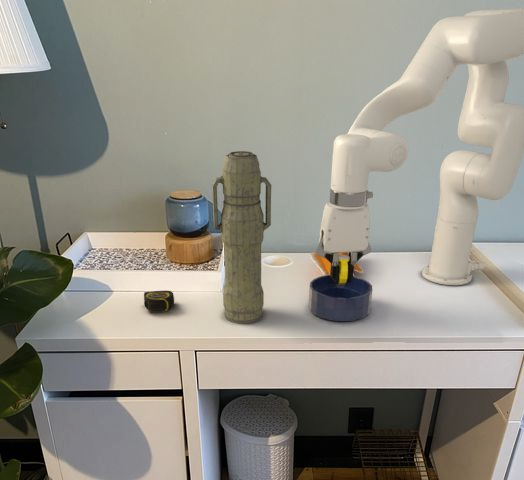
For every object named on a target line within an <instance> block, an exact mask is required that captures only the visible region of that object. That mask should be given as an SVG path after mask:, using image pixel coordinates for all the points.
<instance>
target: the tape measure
mask: <svg viewBox="0 0 524 480" xmlns="http://www.w3.org/2000/svg"><path fill="white" fill-rule="evenodd" d="M143 304H144V305H143V306H144V307H145V309H146V310H147V311H149V312H151V313H152V312H153V313H163V312H168V311H170V310H172V309H173V308H174V307H175V296H174V292H173V291H171V290H153V291H144V292H143Z"/></svg>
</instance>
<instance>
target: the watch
mask: <svg viewBox="0 0 524 480" xmlns="http://www.w3.org/2000/svg"><path fill="white" fill-rule="evenodd" d="M349 260H350V257H349V256H347V255H339V258H338V265H339V266H340V274H339V284H345V283H346V281H347V275H348V263H347V262H348V261H349Z"/></svg>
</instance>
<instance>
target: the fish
mask: <svg viewBox="0 0 524 480" xmlns="http://www.w3.org/2000/svg"><path fill="white" fill-rule="evenodd" d="M324 251H325V250H324ZM329 254H330V253H329ZM339 255H347V256H348V252H341V253H339ZM309 258H310V261H311V262H313V264H314V265H315V266H316V267H317V268H318V270H319V271H320V273H321V274H322V276H325V275H330V269H331V263H330V262H329V261H328V260H327V259H326V258H323V257H320V256H318V255H317V254H316V251H312V252H311V253H310V254H309ZM364 271H365V270H363V268H362V267H361V266H360V265H359V264H358V262H357V263H356V265H354V273H353V276H355V277H356V275H355V272H356V273H360V274H362V273H364Z"/></svg>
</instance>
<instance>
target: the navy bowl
mask: <svg viewBox="0 0 524 480" xmlns="http://www.w3.org/2000/svg"><path fill="white" fill-rule="evenodd" d="M372 297H373V285H372V284H371V282H369V281H367V280H366V279H363V278H361V277H358V276H356V275H355V276H353V277H351V282H349V283H348V282H347V281H346V283H345V284H339V283H335V282H334V281H333V280H332V279H331V277H330V275H321V276H318V277H315V278H313V279H312V280H311V281H310V282H309V289H308V309H309V311H310V312H311V313H312V314H313V315H315V316H316V317H318V318H320V319H321V318H322V319H325V320H328V321H334V322H335V321H336V322H351V321H357V320H360V319H363V318H365V317H367V316H368V315H369V314H370V312H371V308H372V299H373V298H372Z"/></svg>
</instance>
